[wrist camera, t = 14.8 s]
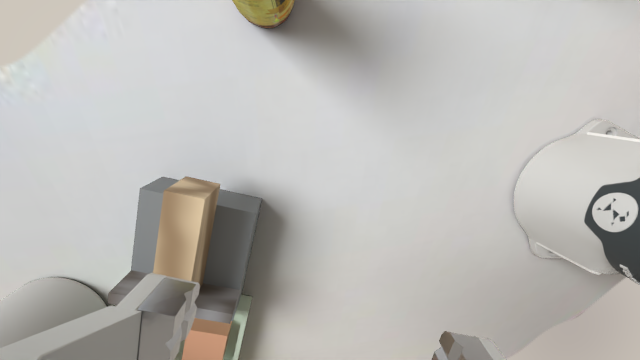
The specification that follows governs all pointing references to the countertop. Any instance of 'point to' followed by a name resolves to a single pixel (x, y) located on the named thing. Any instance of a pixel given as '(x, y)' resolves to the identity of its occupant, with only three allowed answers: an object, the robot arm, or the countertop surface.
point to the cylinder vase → (44, 307)
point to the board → (226, 239)
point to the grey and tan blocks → (186, 248)
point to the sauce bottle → (265, 11)
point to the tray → (232, 331)
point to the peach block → (206, 340)
